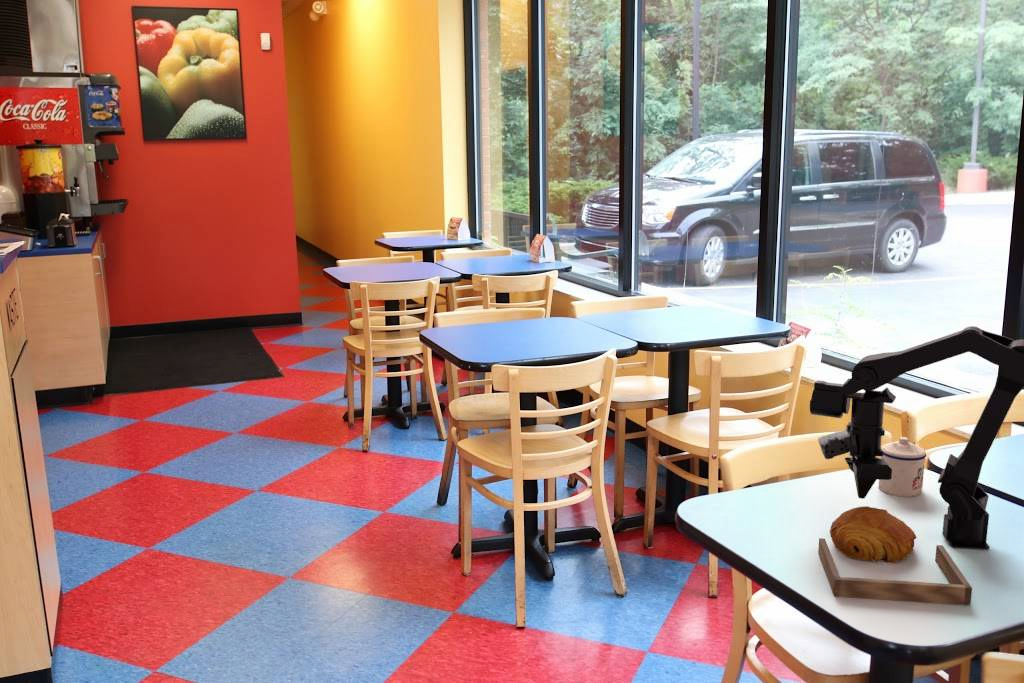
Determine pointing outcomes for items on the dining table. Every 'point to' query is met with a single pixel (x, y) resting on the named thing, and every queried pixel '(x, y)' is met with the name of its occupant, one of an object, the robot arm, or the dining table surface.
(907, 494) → the teacup with lid
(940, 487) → the robot arm
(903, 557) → the croissant
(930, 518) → the dining table surface
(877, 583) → the walnut u-shaped frame
